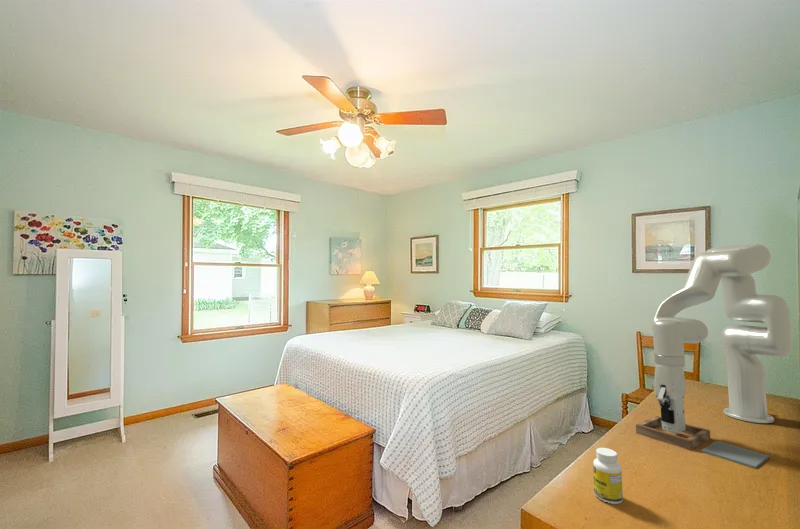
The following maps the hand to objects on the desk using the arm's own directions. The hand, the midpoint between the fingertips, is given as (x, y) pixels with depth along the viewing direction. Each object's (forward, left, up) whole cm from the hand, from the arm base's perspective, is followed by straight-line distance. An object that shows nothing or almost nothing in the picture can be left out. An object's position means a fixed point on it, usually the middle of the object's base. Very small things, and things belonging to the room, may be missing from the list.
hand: (672, 419), depth 111 cm
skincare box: (0, 0, -3) cm, 3 cm away
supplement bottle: (+50, +7, -5) cm, 50 cm away
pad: (+1, +14, -5) cm, 15 cm away
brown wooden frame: (+1, 0, -5) cm, 5 cm away
